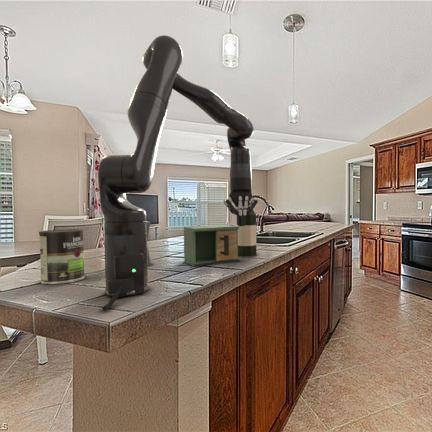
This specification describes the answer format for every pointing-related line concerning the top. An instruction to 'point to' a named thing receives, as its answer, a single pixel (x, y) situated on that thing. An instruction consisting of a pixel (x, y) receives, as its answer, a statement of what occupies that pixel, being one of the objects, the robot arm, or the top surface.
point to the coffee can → (61, 256)
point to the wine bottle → (247, 236)
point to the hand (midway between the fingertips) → (241, 226)
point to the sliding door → (226, 245)
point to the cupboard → (204, 244)
